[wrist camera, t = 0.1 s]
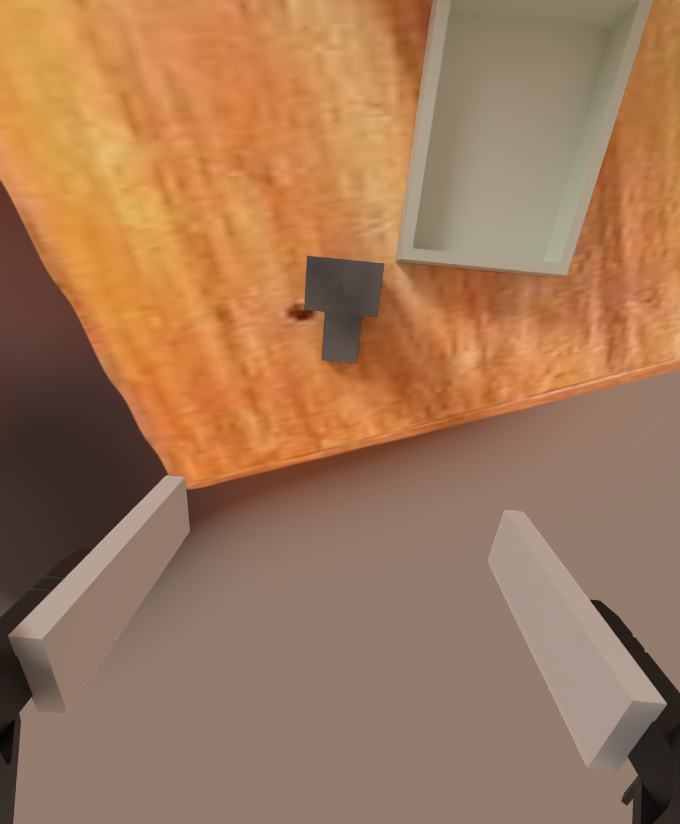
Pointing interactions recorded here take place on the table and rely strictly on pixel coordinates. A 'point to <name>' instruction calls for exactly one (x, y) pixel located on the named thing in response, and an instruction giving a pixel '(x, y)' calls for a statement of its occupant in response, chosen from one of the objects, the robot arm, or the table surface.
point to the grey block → (342, 301)
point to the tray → (514, 129)
